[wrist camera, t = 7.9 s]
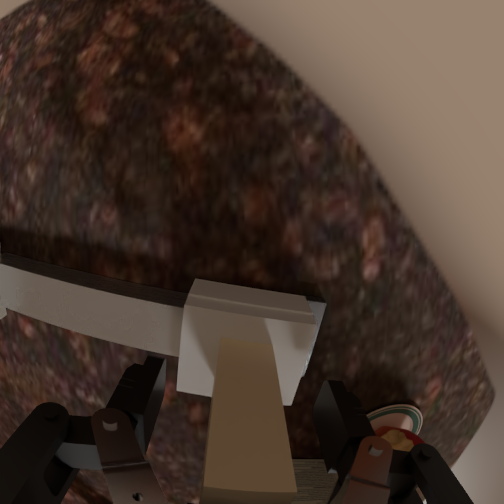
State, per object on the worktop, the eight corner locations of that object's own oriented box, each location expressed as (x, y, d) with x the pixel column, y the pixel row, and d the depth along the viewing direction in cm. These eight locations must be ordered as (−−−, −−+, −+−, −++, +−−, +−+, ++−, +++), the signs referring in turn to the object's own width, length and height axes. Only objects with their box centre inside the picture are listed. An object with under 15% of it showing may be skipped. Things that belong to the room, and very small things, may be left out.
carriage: (304, 296, 17) (380, 459, 6) (283, 372, 18) (315, 537, 7) (195, 278, 16) (127, 439, 5) (186, 358, 18) (142, 523, 7)
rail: (323, 298, 17) (332, 312, 15) (301, 369, 18) (307, 388, 17) (4, 237, 16) (-14, 244, 14) (9, 304, 17) (-7, 314, 15)
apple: (312, 451, 21) (327, 514, 14) (385, 387, 19) (422, 448, 13) (370, 470, 22) (389, 520, 16) (434, 416, 21) (467, 464, 14)
